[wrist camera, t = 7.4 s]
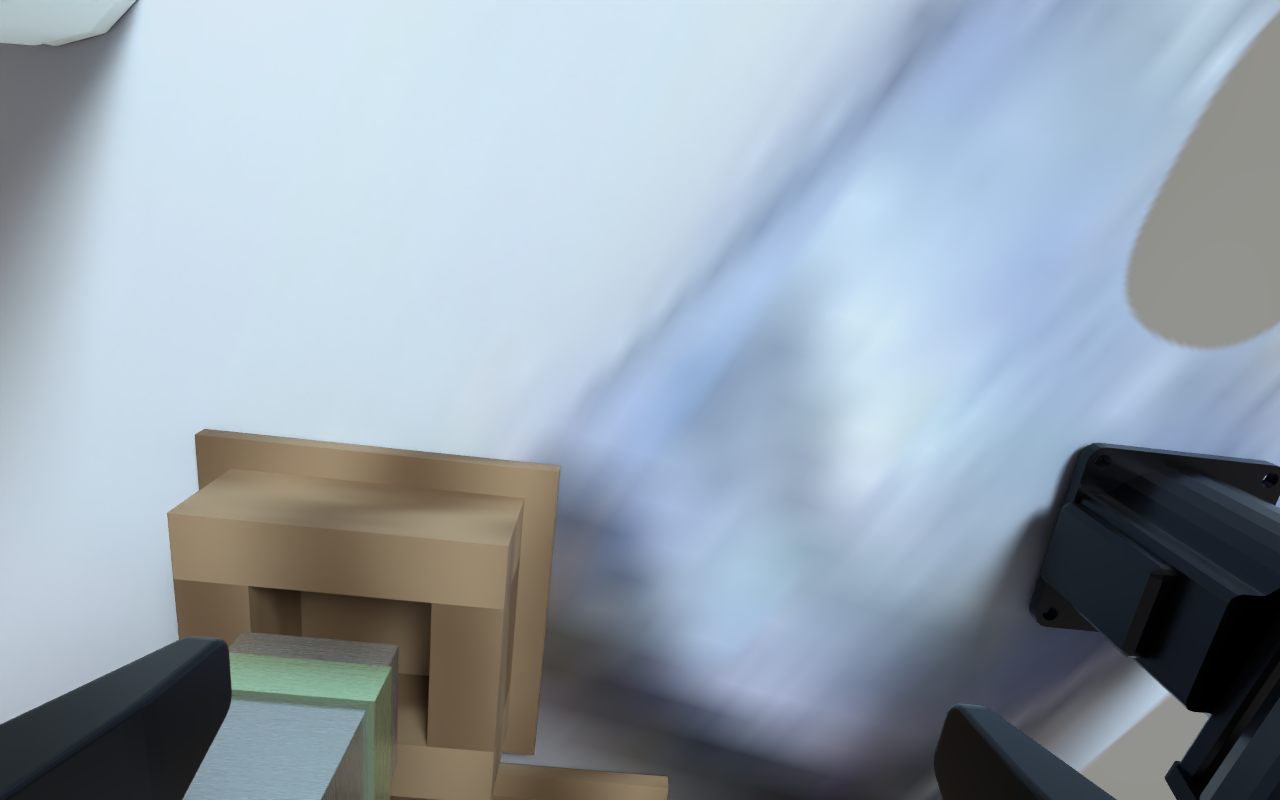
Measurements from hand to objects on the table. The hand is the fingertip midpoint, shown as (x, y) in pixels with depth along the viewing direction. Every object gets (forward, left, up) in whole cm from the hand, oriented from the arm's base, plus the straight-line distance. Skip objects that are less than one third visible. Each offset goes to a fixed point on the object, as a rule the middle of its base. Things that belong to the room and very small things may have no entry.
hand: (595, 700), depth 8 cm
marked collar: (+7, +8, -13) cm, 17 cm away
